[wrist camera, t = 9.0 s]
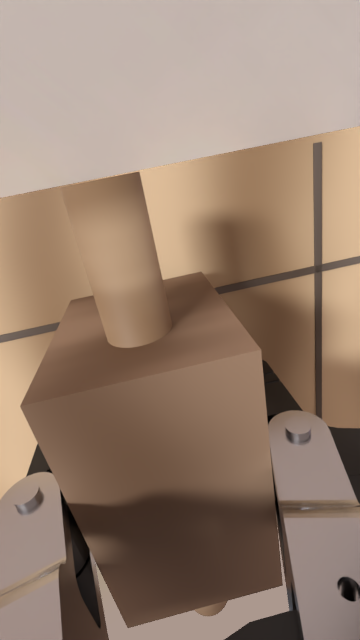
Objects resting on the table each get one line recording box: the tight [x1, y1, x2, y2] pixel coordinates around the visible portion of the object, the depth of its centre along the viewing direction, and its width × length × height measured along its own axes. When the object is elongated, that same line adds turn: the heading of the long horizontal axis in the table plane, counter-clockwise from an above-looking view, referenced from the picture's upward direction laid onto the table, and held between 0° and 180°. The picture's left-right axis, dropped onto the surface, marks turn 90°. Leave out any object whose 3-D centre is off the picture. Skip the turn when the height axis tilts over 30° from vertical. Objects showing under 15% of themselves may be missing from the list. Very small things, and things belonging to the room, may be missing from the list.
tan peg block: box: [20, 172, 283, 628], centre depth 9 cm, size 4×13×5 cm, turn 10°
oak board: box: [0, 126, 360, 500], centre depth 13 cm, size 20×13×3 cm, turn 100°
